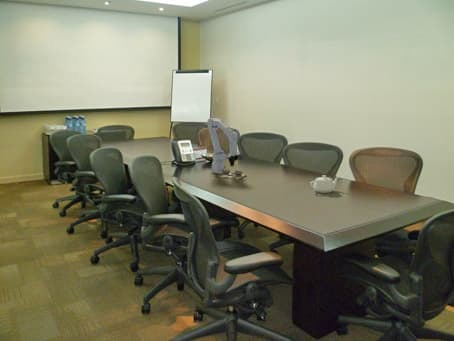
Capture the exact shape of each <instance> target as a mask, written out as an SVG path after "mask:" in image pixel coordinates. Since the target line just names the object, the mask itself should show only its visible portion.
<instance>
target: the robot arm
mask: <svg viewBox="0 0 454 341" xmlns="http://www.w3.org/2000/svg"><path fill="white" fill-rule="evenodd" d="M206 126H207V128H208V133H209V136H210V139H211V143H212V148H213V152H212V154H211V155H212V163H211V171H210V172H211V173H212V174H219V175H222V174H223V172H222V170H223V169H225V161H226V159H228V161H229V162H228V163H229V167H230V166H233V165H234V160H238V159H239V155H240V153H239V152H238V139H239V133H238V131H234V130H233V129H231V128H230V126H226V124H224V123H223V122H222V120H221V118H220V117H215V118H208V119H207V121H206ZM218 129H221V130H222V132H223V134H225V135H226V137H227V139H228V144H229V146H228V147H229V152H228V154H227V155H226V153H225V151H224V150H223V149H221V144H220V141H219V140H220V139H219V137H218V134H217V130H218Z"/></svg>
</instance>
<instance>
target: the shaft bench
mask: <svg viewBox="0 0 454 341" xmlns="http://www.w3.org/2000/svg"><path fill="white" fill-rule="evenodd" d="M222 172H223V173H222V174H219V175H217V176H218V178H220V179H221V178H223V179H230V180H240V179H243V178H245V177H247V174H244V172H243V171H242V170H234V172H231V171H230V169H225V168H224V169H223V170H222Z"/></svg>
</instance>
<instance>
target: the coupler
mask: <svg viewBox="0 0 454 341" xmlns="http://www.w3.org/2000/svg"><path fill="white" fill-rule="evenodd" d="M238 162H239V161H238V159H237V160H234V165H233V166H230V165H229V169H237V168H238Z"/></svg>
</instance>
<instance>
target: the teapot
mask: <svg viewBox="0 0 454 341" xmlns="http://www.w3.org/2000/svg"><path fill="white" fill-rule="evenodd" d="M338 179H340V177H339V176H337V177H335V179H334V180H333V178H331V177H327V175H325V174H324V175H323V174H322V176H321V177H320V176H319V177H316V178H315V180H312V181H310V183H309V184H310V187H311V188H312V189H314V191H315V192H317V193H321V194H329V193H332V192H333V191H334V190H335V186H336V185H337V181H338Z"/></svg>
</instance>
